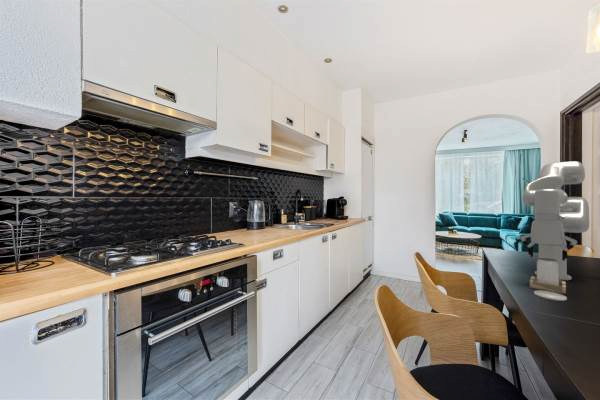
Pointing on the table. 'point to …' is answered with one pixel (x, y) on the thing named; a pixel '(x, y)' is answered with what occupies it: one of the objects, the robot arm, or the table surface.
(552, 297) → the coaster
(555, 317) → the table surface
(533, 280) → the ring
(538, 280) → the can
